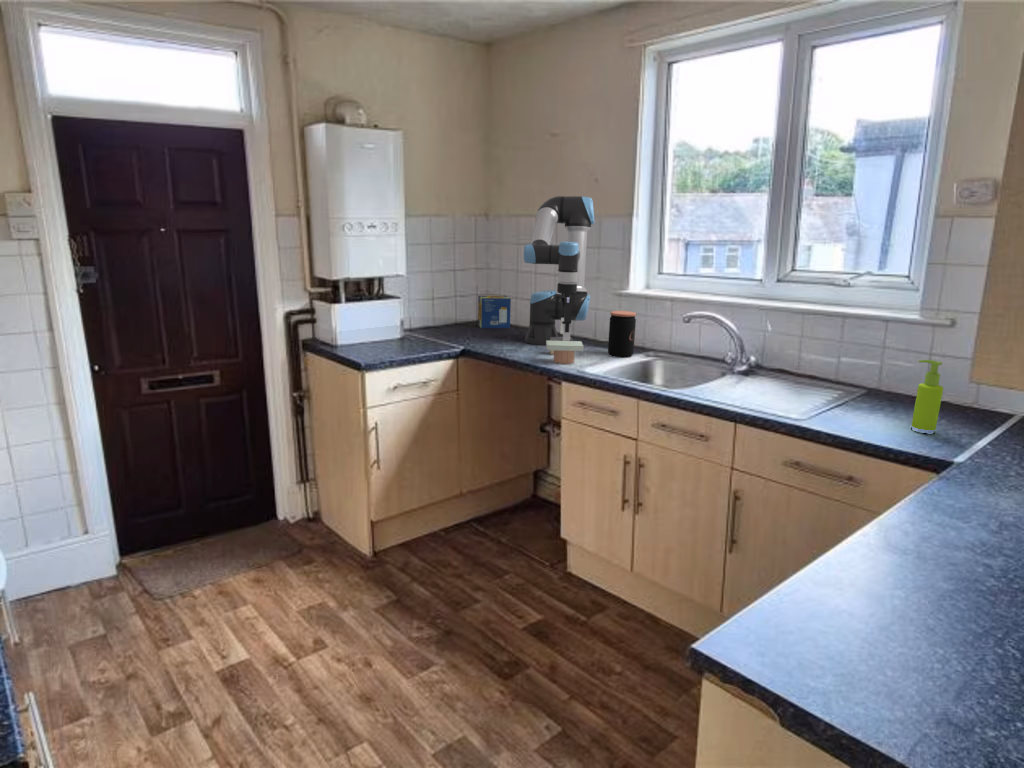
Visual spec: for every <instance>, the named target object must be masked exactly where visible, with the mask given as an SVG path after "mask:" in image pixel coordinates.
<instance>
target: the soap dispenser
mask: <svg viewBox="0 0 1024 768" xmlns="http://www.w3.org/2000/svg"><path fill="white" fill-rule="evenodd" d="M918 363H927V364H930V369H929V371H927V372H925V377H924V382H923V383H919V384H918V386H917V392H916V398H915V403H914V408H913V415H912V420H911V425H912V426H913V427H915V428H918V429H924V430H935V429H936V430H937V425H938V419H939V414H940V409H941V404H942V398H943V392H944V387H943V386H942V385H940V378H941V373H939V371H938V369H939V366H942V364H943V362H941V361H939V360H938V361H937V360H932V359H920V360H918Z"/></svg>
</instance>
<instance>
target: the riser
mask: <svg viewBox="0 0 1024 768" xmlns="http://www.w3.org/2000/svg"><path fill="white" fill-rule="evenodd" d="M550 341H563V336H558V337H550ZM570 341H574V340H573V337H571V336H570ZM549 353H550V356H554V350H549Z"/></svg>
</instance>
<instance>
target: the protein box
mask: <svg viewBox="0 0 1024 768" xmlns="http://www.w3.org/2000/svg"><path fill="white" fill-rule="evenodd" d="M477 298H478V299H477V304H478V305H477V325H478V327H479V328H481V329H510V328H511V309H512V308H511V306H512V305H511V300H512V299H511V297H509V296H508V295H478V297H477Z"/></svg>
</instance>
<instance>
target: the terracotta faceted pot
mask: <svg viewBox="0 0 1024 768" xmlns="http://www.w3.org/2000/svg"><path fill="white" fill-rule="evenodd" d="M575 352H576V351H558V350H554V355H553V363H555V362H556V363H555V364H559V363H561V364H560V365H570V364H571V363H572V364H574V362H575Z"/></svg>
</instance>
